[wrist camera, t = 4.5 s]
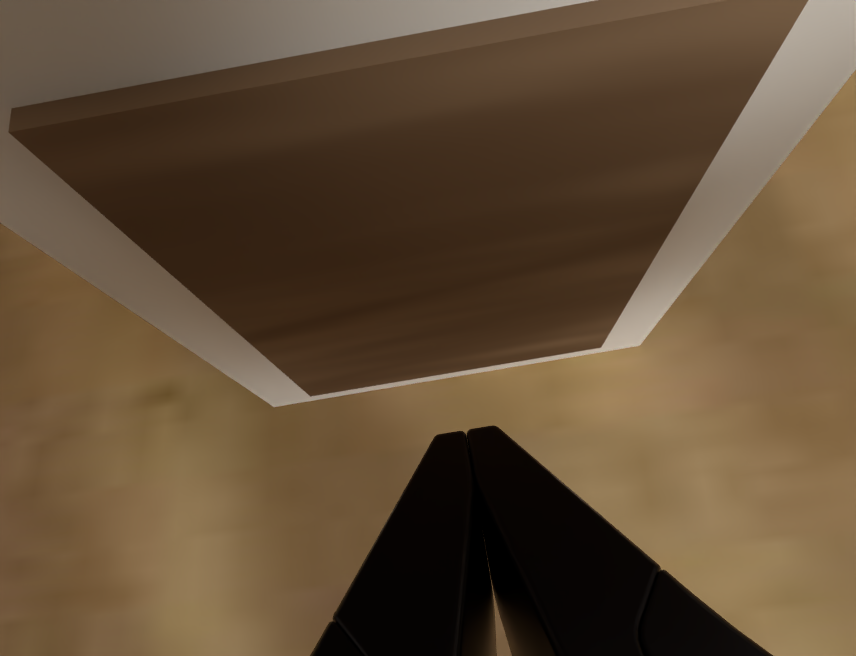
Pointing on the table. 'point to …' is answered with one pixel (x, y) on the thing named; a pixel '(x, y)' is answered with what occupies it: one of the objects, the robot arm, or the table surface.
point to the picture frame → (400, 168)
